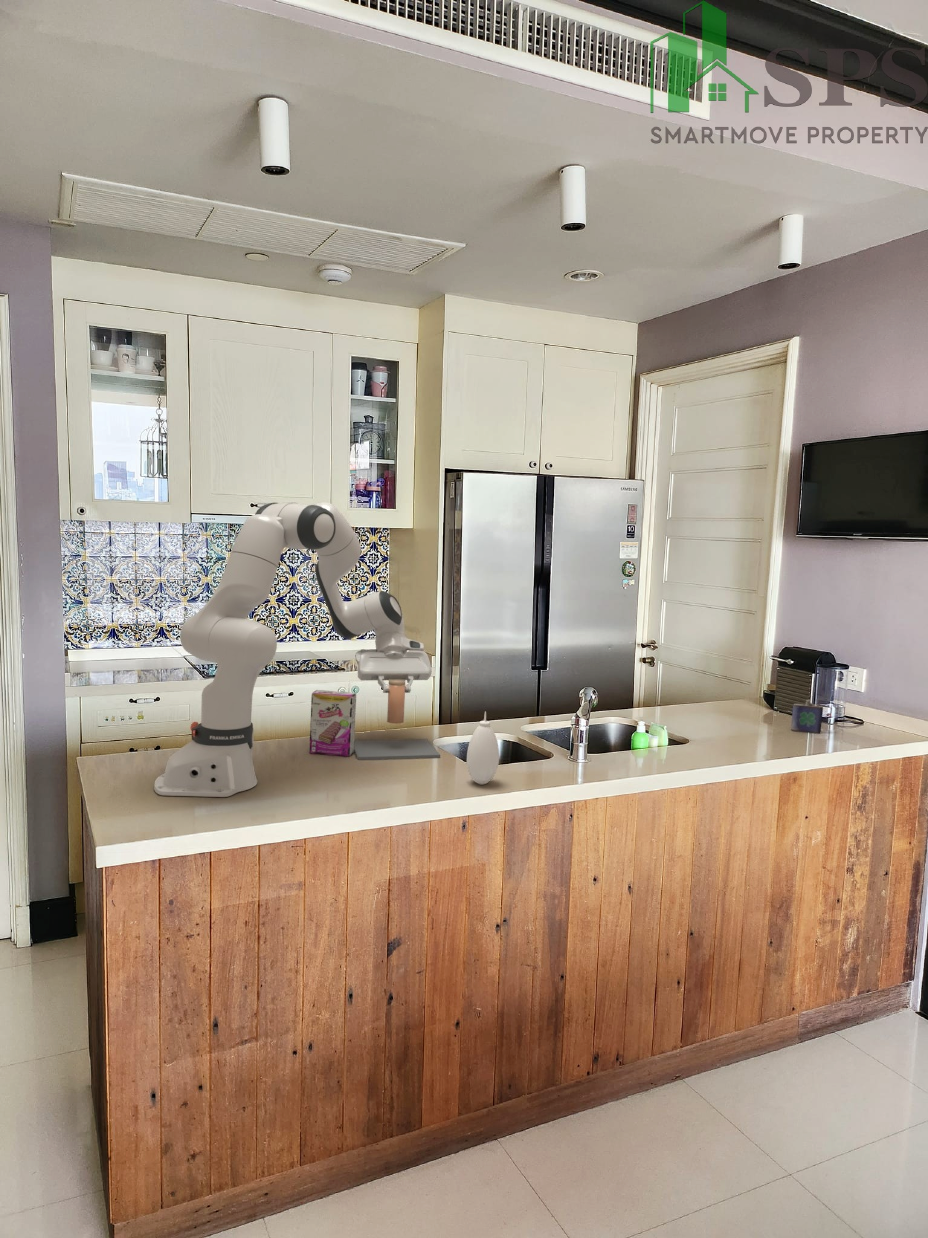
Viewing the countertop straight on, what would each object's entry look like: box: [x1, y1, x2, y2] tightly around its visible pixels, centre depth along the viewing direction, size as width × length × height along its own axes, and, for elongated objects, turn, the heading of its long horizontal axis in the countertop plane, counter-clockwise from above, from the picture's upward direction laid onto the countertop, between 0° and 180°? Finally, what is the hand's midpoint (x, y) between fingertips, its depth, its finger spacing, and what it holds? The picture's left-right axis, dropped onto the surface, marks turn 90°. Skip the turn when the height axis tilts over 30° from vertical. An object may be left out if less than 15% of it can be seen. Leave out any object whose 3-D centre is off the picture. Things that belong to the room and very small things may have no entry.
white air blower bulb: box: [466, 711, 500, 785], centre depth 202 cm, size 8×8×18 cm
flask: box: [790, 699, 824, 735], centre depth 273 cm, size 9×3×11 cm, turn 76°
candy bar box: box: [308, 689, 357, 757], centre depth 221 cm, size 11×5×16 cm, turn 84°
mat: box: [353, 738, 441, 761], centre depth 227 cm, size 22×16×1 cm
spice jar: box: [386, 679, 406, 724], centre depth 226 cm, size 4×4×11 cm
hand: (397, 691), depth 225 cm, fingers closed on spice jar, 4 cm apart
